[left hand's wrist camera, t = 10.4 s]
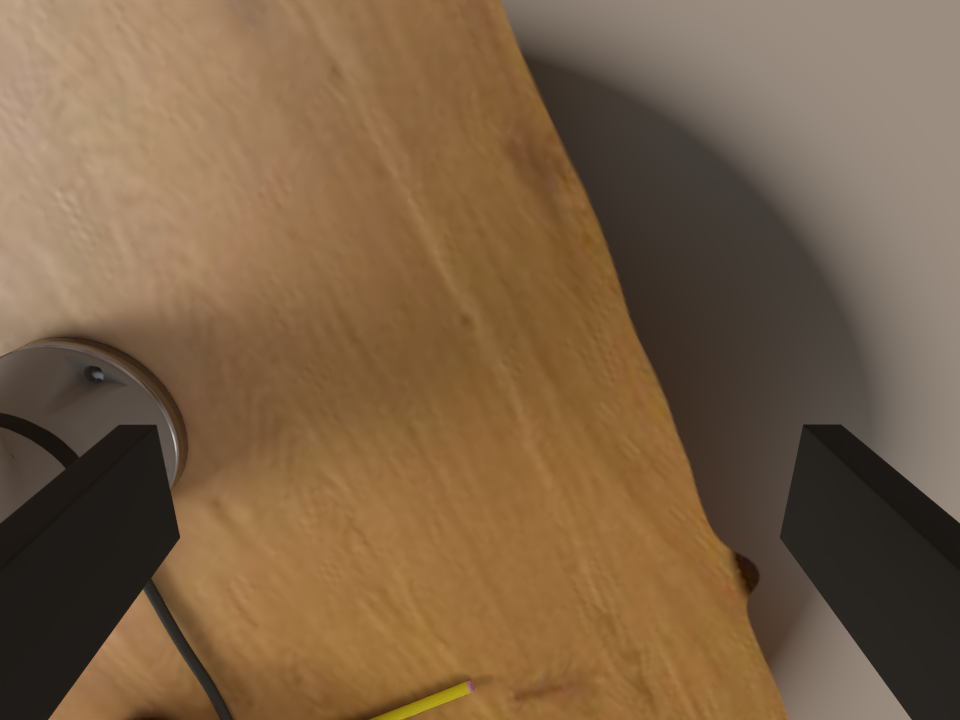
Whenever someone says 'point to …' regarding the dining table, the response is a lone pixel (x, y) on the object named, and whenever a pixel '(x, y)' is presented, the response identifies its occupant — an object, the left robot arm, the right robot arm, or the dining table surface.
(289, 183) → the dining table surface
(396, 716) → the pencil
